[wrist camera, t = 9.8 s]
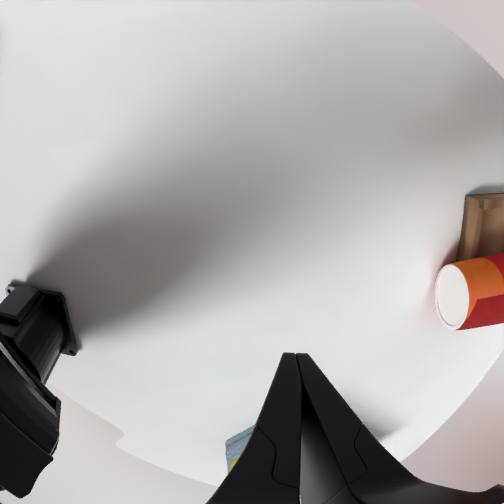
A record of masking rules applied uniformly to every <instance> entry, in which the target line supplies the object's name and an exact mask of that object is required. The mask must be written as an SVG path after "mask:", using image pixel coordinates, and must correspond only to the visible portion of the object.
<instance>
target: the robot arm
mask: <svg viewBox="0 0 504 504" xmlns="http://www.w3.org/2000/svg"><path fill="white" fill-rule="evenodd" d="M6 294H7V297H6V298H5V299H4V300H3V301H2V303H1V304H0V491H3V490H7V491H8V492H10V493H12V494H13V495H14V496H16V497H18V498H23V497H24V496H26V495H28V494H29V493H30V492H31V490H32V488H33V486H34V483H35V481H36V479H37V478H38V476H39V474H40V473H41V472H42V470H43V469H44V468H45V467H46V466H47V465H48V464H49V463H50V462H52V461H53V457H52V455H53V453H54V451H55V450H56V448H57V444H58V440H59V423H60V410H61V401H60V400H59V399H58V398H57V397H56V396H54V395H53V394H52V393H51V392H50V391H49V390H48V389H47V387H46V386H45V384H46V382H47V380H48V378H49V376H50V374H51V372H52V370H53V368H54V366H55V364H56V362H57V360H58V358H59V356H60V354H61V353H62V354H66V355H71V356H75V355H76V354H77V352H78V350H77V346H76V343H75V339H74V335H73V332H72V328H71V324H70V320H69V316H68V311H67V307H66V302H65V298H64V296H63V295H62V294H61V293H59V292H53V291H47V290H41V289H38V288H32V287H27V286H21V285H12V284H9V285H8V286H7V287H6ZM58 298H59V299H60V300H59V299H58ZM299 489H300V490H299ZM300 496H301V504H502V503H503V502H504V486H503V485H500V484H498V485H495V486H494V487H492V488H490V489H488V490H486V491H483V492H467V491H462V490H457V489H452V488H448V487H444V486H439V485H435V484H431V483H428V482H425V481H422V480H420V479H418V478H417V477H415V476H414V475H413V474H411V473H410V472H409V471H408V470H407V469H406V468H405V467H404V466H403V465H401V464H400V463H399V462H398V461H397V460H396V459H395V458H394V457H393V456H392V455H391V454H390V453H389V452H388V451H387V450H386V449H385V448H384V447H383V446H382V445H381V444H380V443H379V442H378V441H377V440H376V438H375V437H374V436H373V435H372V434H371V433H370V431H369V430H368V429H367V428H366V426H365V425H364V424H362V422H361V420H360V419H359V418H358V417H357V415H356V414H355V413H354V412H353V410H352V409H351V408H350V407H349V405H348V404H347V403H346V401H345V400H344V399H343V398H342V396H341V395H340V394H339V393H338V391H337V390H336V389H335V388H334V386H333V385H332V384H331V382H330V381H329V380H328V379H327V377H326V376H325V375H324V374H323V372H322V371H321V370H320V368H319V367H318V366H317V365H316V363H315V362H314V361H313V359H312V358H311V357H310V356H309V354H307V353H296V354H295V353H286V352H284V353H283V354H282V357H281V360H280V363H279V365H278V368H277V371H276V373H275V376H274V379H273V381H272V384H271V387H270V389H269V392H268V394H267V397H266V399H265V402H264V405H263V407H262V410H261V412H260V415H259V417H258V419H257V422H256V424H255V427H254V429H253V431H252V434H251V436H250V438H249V440H248V442H247V444H246V446H245V448H244V450H243V452H242V454H241V455H240V457H239V458H238V460H237V462H236V463H235V465H234V466H233V468H232V469H231V471H230V472H229V473H228V475H227V476H226V478H225V479H224V481H223V482H222V484H221V485H220V486H219V488H218V489H217V490H216V492H215V493H214V494H213V496H212V497H211V498H210V499H209V500H208V502H207V503H206V504H300ZM0 504H2V503H0Z"/></svg>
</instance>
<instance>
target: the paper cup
mask: <svg viewBox="0 0 504 504" xmlns="http://www.w3.org/2000/svg"><path fill="white" fill-rule="evenodd" d="M434 298H435V306H436V311H437V314H438V317H439V319H440V321H441V323H442V324H443V326H444V327H445V328H447V329H448V330H464V329H471V328H477V327H483V326H489V325H495V324H500V323H504V253H499V254H494V255H489V256H484V257H479V258H474V259H469V260H464V261H459V262H455V263H451V264H448V265H445V266H444V267H443V268H442V269H441V270H440V272H439V273H438V276H437V279H436V283H435V292H434Z"/></svg>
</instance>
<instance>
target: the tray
mask: <svg viewBox="0 0 504 504" xmlns="http://www.w3.org/2000/svg"><path fill="white" fill-rule="evenodd" d="M499 253H504V193H494V194H477V195H465V205H464V215H463V223H462V230H461V237H460V244H459V250H458V255H457V261H456V262H459V261H464V260H469V259H474V258H479V257H484V256H489V255H494V254H499Z"/></svg>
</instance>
